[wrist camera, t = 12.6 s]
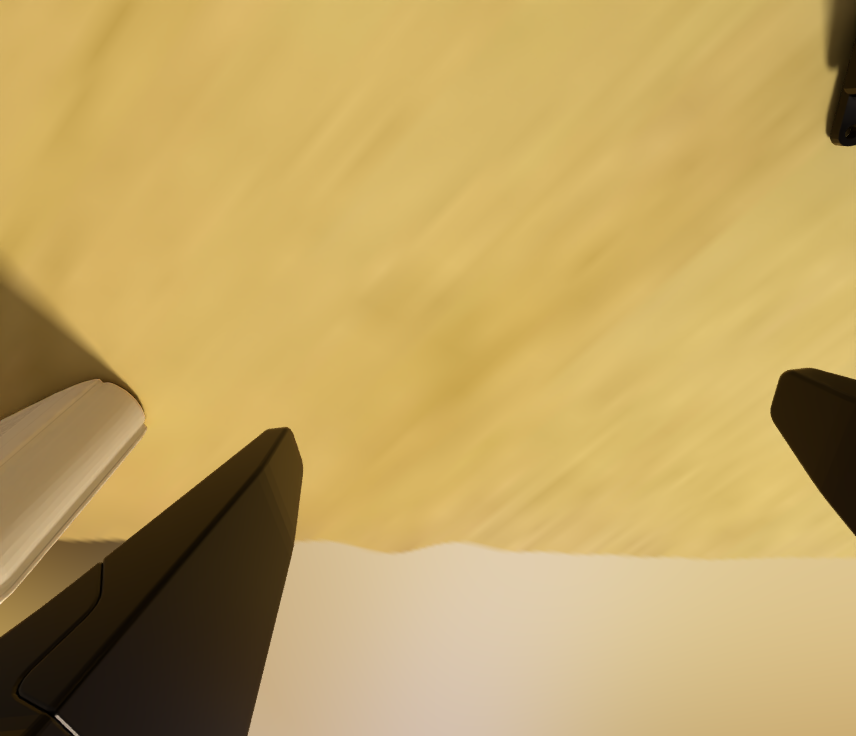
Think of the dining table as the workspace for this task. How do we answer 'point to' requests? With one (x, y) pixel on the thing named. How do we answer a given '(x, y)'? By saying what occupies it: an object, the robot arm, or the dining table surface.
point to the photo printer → (58, 467)
